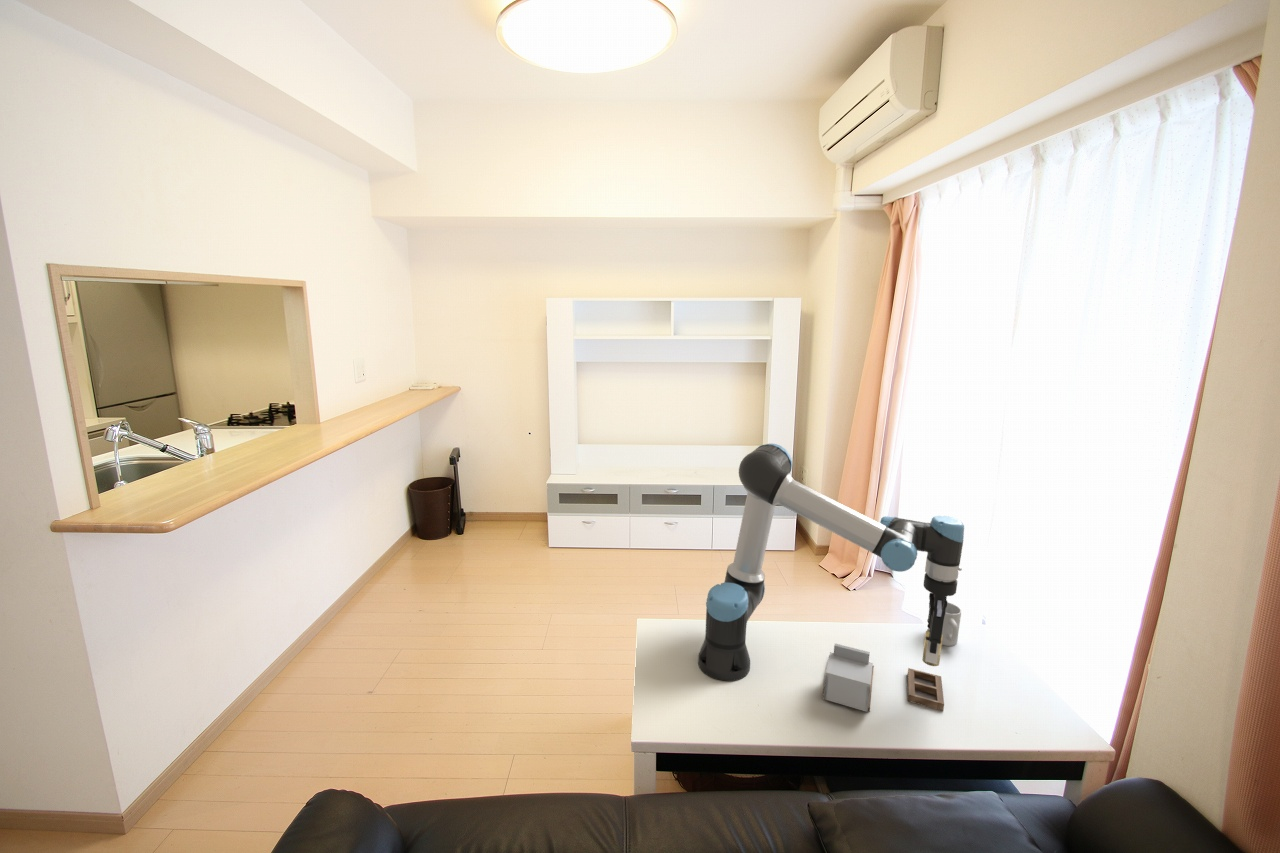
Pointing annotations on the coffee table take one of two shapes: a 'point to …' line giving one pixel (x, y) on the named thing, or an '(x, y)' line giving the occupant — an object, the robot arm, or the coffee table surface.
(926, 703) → the socket block
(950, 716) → the coffee table surface
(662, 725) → the coffee table surface
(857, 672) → the cover
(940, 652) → the peg
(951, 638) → the mug
